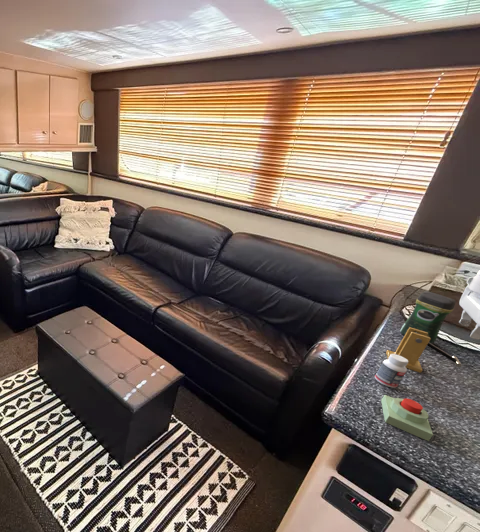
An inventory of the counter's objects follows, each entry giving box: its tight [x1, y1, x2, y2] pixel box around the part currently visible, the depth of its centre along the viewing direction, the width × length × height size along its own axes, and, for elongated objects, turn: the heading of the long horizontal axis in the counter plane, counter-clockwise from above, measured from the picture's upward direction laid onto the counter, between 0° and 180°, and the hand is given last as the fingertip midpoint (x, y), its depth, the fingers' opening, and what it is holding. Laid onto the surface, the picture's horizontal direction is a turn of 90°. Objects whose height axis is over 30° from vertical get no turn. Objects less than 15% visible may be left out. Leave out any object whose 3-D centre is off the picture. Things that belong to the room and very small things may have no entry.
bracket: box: [385, 327, 431, 374], centre depth 104 cm, size 8×7×12 cm
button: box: [400, 397, 424, 414], centre depth 80 cm, size 4×4×2 cm
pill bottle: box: [374, 354, 408, 389], centre depth 94 cm, size 5×5×9 cm
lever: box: [414, 331, 463, 368], centre depth 101 cm, size 13×5×2 cm, turn 52°
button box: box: [380, 394, 434, 442], centre depth 81 cm, size 10×8×4 cm
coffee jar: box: [399, 290, 457, 344], centre depth 120 cm, size 10×8×19 cm
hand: (468, 331), depth 93 cm, fingers open, 8 cm apart
